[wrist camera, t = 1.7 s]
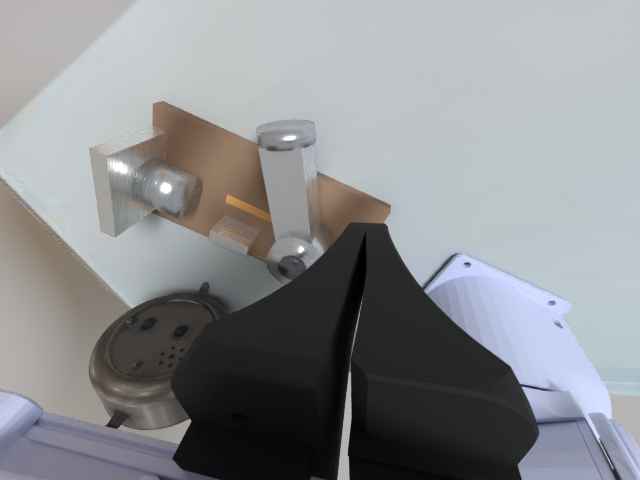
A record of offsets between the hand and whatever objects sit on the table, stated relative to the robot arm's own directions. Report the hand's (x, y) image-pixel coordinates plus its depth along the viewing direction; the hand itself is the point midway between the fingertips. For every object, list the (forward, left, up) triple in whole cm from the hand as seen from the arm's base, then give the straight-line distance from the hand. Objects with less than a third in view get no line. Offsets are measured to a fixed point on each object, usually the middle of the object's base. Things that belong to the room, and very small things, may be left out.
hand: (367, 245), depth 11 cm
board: (+6, +7, -10) cm, 13 cm away
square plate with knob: (+10, +7, -9) cm, 15 cm away
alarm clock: (+9, +20, -10) cm, 24 cm away
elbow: (+4, +4, -8) cm, 10 cm away
